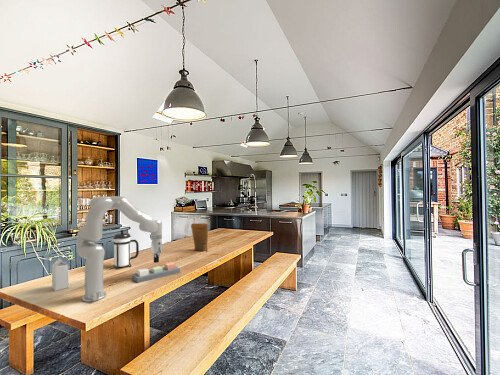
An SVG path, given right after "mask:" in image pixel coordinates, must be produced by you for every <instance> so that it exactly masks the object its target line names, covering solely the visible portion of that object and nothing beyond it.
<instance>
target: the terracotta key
mask: <svg viewBox="0 0 500 375" xmlns="http://www.w3.org/2000/svg"><path fill="white" fill-rule="evenodd" d="M163 265H164V266H163V267H164V268H165V269H166V270H171V269H175V266H176V263H174V262H173V261H171V262H166V263H164V264H163Z"/></svg>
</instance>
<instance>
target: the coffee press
mask: <svg viewBox="0 0 500 375" xmlns="http://www.w3.org/2000/svg"><path fill="white" fill-rule="evenodd" d="M131 237H132V236H131V234H130V233H129V232H124V230H123V229H122V230H120V231H119V232H118V233H115V234H114V236H112V239H111V242H113V267H115V269H116V270H119V269H120V267H126V266H127V267H129V268H131V267H132V264H131V260H134V259H136V258H138V256H139V254H140V253H139V252H140V249H139V242H138V240H136V239H131ZM131 243H135V251H136V252H135V255H134V256H131Z"/></svg>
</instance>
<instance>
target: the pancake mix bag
mask: <svg viewBox="0 0 500 375" xmlns="http://www.w3.org/2000/svg"><path fill="white" fill-rule="evenodd" d="M190 227H191V234H192V240H193V245H194V251H195V250H196V252H203V251H206V252H208V251H209V250H208V239H209V237H208V235H209V232H208V230H209V224H208V223H193V222H192V223H191V224H190Z"/></svg>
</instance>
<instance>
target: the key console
mask: <svg viewBox="0 0 500 375" xmlns="http://www.w3.org/2000/svg"><path fill="white" fill-rule="evenodd" d="M161 268H162V272H158V273H153V272H151V269H148V270H149V275H146V276H141V277H139V276H138V275H137V272H136V273H132V274H131V279H132V280H134V281H135V283H137V284H139V283H143V282H149V281H151V280H155V279H159V278H164V277H168V276H172V275H173V276H174V275H176V274H179V273H180V274H181V268H180V267H178V266H176V265H175V269H171V270H166V269H165V268H164V266H161Z"/></svg>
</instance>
